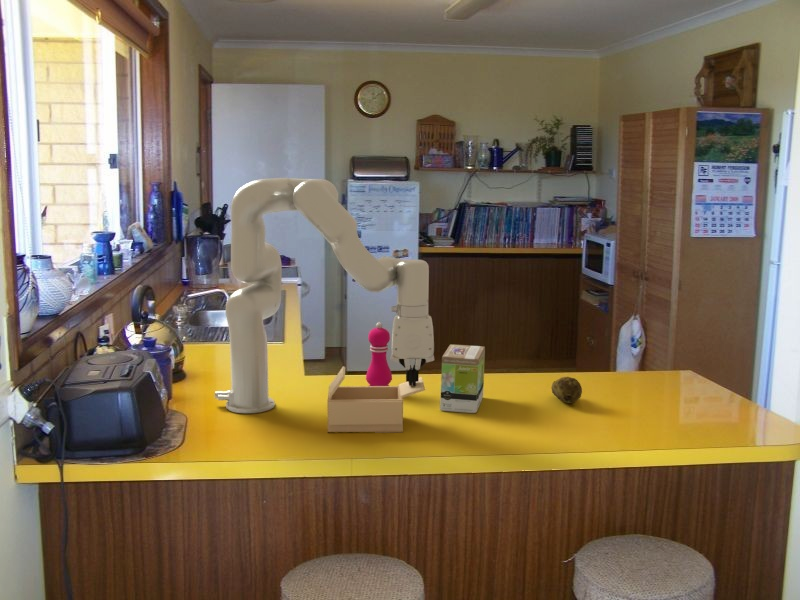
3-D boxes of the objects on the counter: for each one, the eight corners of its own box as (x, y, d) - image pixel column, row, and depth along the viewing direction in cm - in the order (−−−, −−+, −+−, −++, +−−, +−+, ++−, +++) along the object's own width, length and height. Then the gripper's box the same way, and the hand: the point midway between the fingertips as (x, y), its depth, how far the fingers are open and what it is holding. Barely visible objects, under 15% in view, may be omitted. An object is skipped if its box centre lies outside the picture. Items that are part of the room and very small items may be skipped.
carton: (327, 433, 201) (327, 401, 200) (329, 416, 214) (329, 385, 213) (402, 433, 202) (403, 400, 201) (400, 415, 215) (400, 385, 214)
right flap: (400, 395, 202) (424, 387, 202) (398, 384, 212) (421, 376, 212) (401, 398, 202) (425, 390, 202) (399, 386, 212) (422, 378, 212)
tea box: (477, 414, 217) (479, 358, 214) (439, 411, 219) (440, 356, 216) (484, 397, 232) (485, 344, 229) (447, 395, 234) (448, 342, 231)
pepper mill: (388, 397, 231) (389, 325, 227) (363, 395, 232) (363, 324, 229) (394, 389, 238) (394, 320, 234) (369, 388, 239) (369, 319, 236)
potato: (582, 397, 232) (583, 369, 230) (580, 411, 220) (582, 382, 218) (551, 395, 234) (552, 367, 232) (548, 409, 221) (549, 379, 220)
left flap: (331, 386, 211) (345, 367, 211) (330, 398, 202) (344, 378, 201) (329, 385, 211) (343, 365, 211) (328, 396, 201) (342, 376, 201)
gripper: (382, 314, 200) (382, 389, 203) (445, 313, 200) (444, 388, 204) (381, 308, 207) (381, 380, 210) (442, 307, 208) (441, 380, 211)
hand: (412, 384), depth 207 cm, fingers closed
